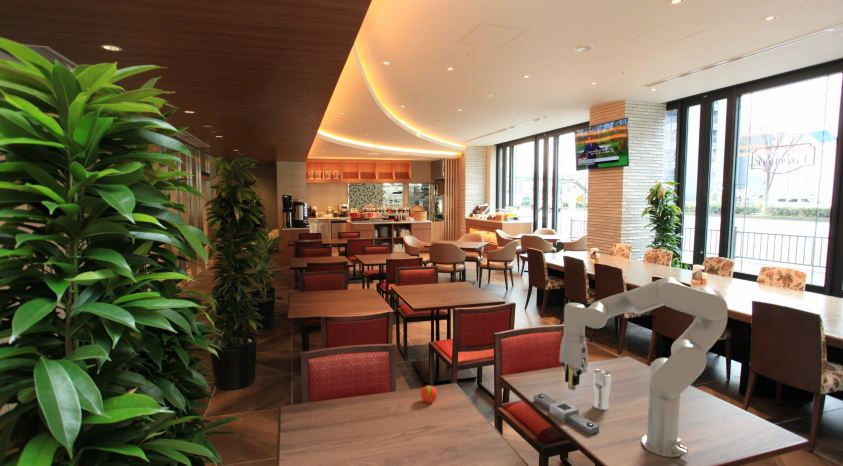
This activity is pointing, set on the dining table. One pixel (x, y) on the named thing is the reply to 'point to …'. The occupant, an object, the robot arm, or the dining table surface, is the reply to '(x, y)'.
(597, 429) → the studded connector plate
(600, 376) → the metal tumbler
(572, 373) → the link pin
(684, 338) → the robot arm
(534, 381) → the dining table surface
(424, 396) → the red tomato
